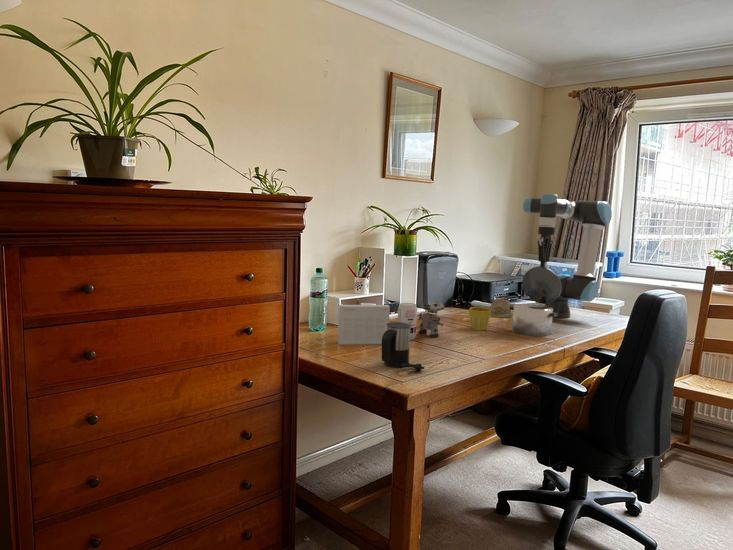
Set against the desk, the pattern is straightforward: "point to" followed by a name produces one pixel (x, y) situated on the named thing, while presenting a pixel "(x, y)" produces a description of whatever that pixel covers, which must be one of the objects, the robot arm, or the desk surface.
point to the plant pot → (479, 317)
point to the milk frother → (397, 346)
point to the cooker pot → (532, 319)
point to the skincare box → (362, 323)
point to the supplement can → (408, 316)
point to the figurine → (431, 319)
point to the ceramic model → (501, 308)
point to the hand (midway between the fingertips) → (542, 275)
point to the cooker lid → (542, 285)
